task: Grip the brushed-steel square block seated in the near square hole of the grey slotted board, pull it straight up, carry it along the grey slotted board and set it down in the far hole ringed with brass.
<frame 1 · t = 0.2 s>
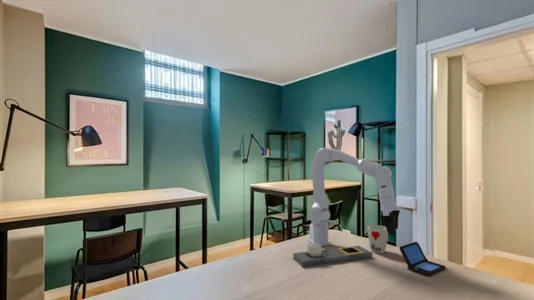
hand: (393, 230, 111), 10 cm above the table, tool pointing down, fingers open, 7 cm apart
grey slotted board: (332, 258, 111), on the table
steel block: (314, 260, 109), resting in grey slotted board
cup: (378, 251, 118), on the table
handheld game console: (422, 268, 101), on the table
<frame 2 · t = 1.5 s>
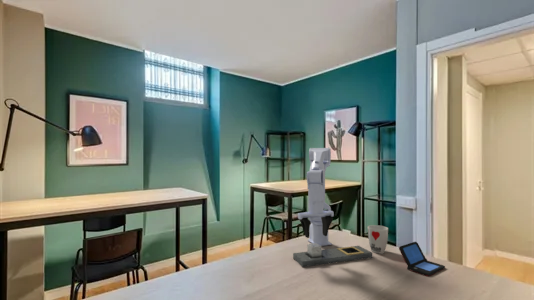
hand: (316, 236, 108), 9 cm above the table, tool pointing down, fingers open, 7 cm apart
nothing on the table moved.
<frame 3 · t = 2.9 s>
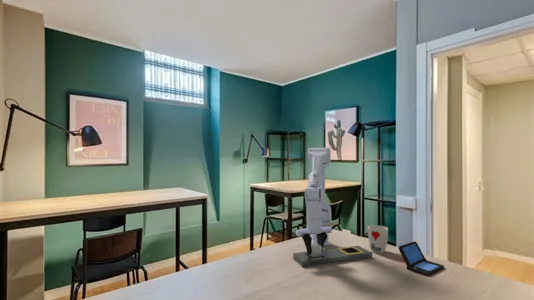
hand: (314, 252, 109), 3 cm above the table, tool pointing down, fingers closed on steel block, 4 cm apart
steel block: (314, 260, 109), resting in grey slotted board, touching gripper
everything else where it was.
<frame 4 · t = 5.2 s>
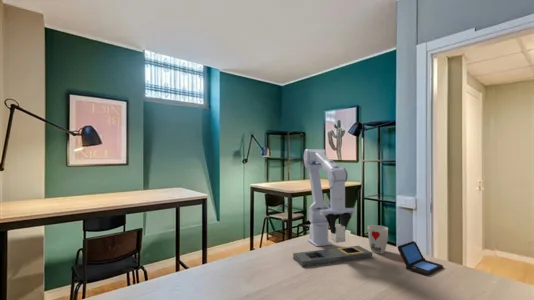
hand: (337, 232, 112), 10 cm above the table, tool pointing down, fingers closed on steel block, 4 cm apart
steel block: (338, 240, 112), point 7 cm above the table, touching gripper
everything else where it was.
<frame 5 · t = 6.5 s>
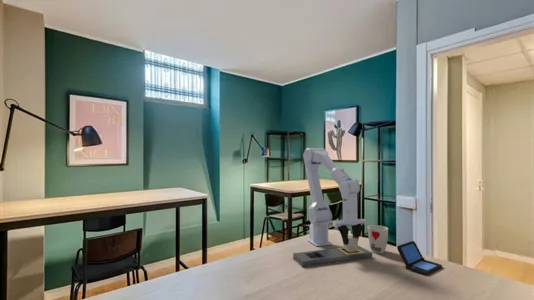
hand: (350, 243, 113), 5 cm above the table, tool pointing down, fingers closed on steel block, 4 cm apart
steel block: (350, 251, 113), point 2 cm above the table, touching gripper
when the fingers open (4 cm above the table, at t = 7.5 s): steel block stays where it is, resting in grey slotted board.
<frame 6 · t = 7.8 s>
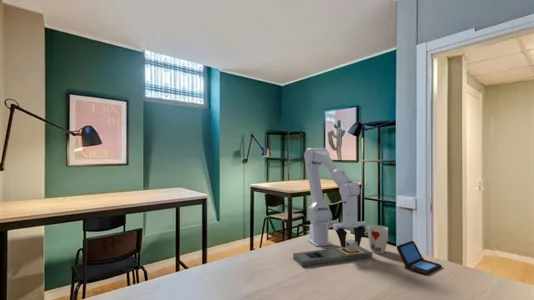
hand: (350, 246, 113), 4 cm above the table, tool pointing down, fingers open, 6 cm apart
steel block: (350, 256, 113), resting in grey slotted board
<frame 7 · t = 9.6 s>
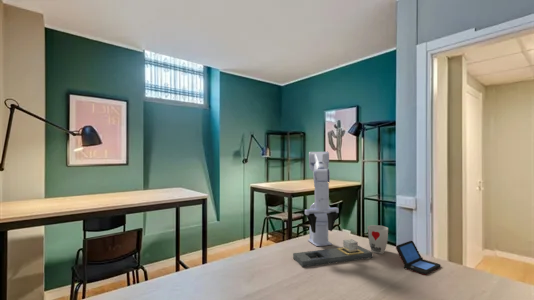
hand: (322, 231, 115), 9 cm above the table, tool pointing down, fingers open, 7 cm apart
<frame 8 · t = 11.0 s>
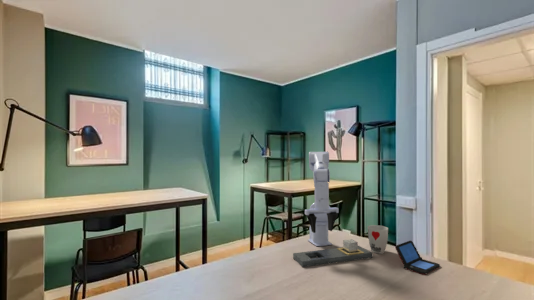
hand: (322, 231, 115), 9 cm above the table, tool pointing down, fingers open, 7 cm apart
at the end: steel block 0.1 cm from the target spot on the grey slotted board, point 0.0 cm above the grey slotted board's base; steel block tilted 0°; the gripper is holding nothing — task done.
